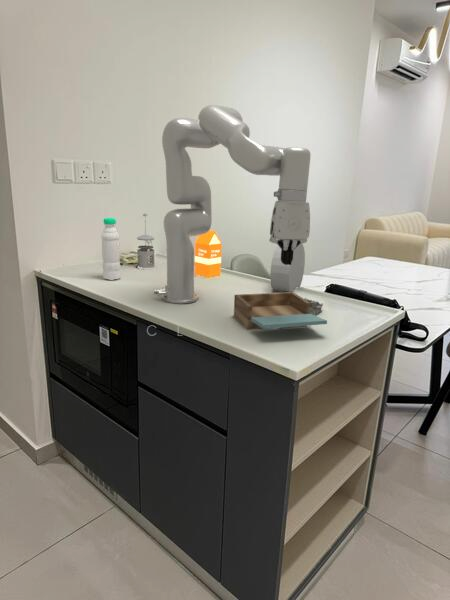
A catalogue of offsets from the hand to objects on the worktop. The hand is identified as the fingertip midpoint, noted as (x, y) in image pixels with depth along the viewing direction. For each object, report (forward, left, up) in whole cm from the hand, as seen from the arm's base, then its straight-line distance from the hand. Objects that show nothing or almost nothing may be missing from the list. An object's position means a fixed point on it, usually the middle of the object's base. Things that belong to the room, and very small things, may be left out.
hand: (286, 263), depth 124 cm
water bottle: (-44, +74, -20) cm, 88 cm away
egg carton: (+16, +16, -21) cm, 30 cm away
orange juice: (-3, +74, -20) cm, 76 cm away
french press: (-27, +96, -20) cm, 102 cm away
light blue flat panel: (+1, +3, -17) cm, 17 cm away
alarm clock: (+23, +47, -20) cm, 56 cm away
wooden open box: (+1, +10, -20) cm, 22 cm away
